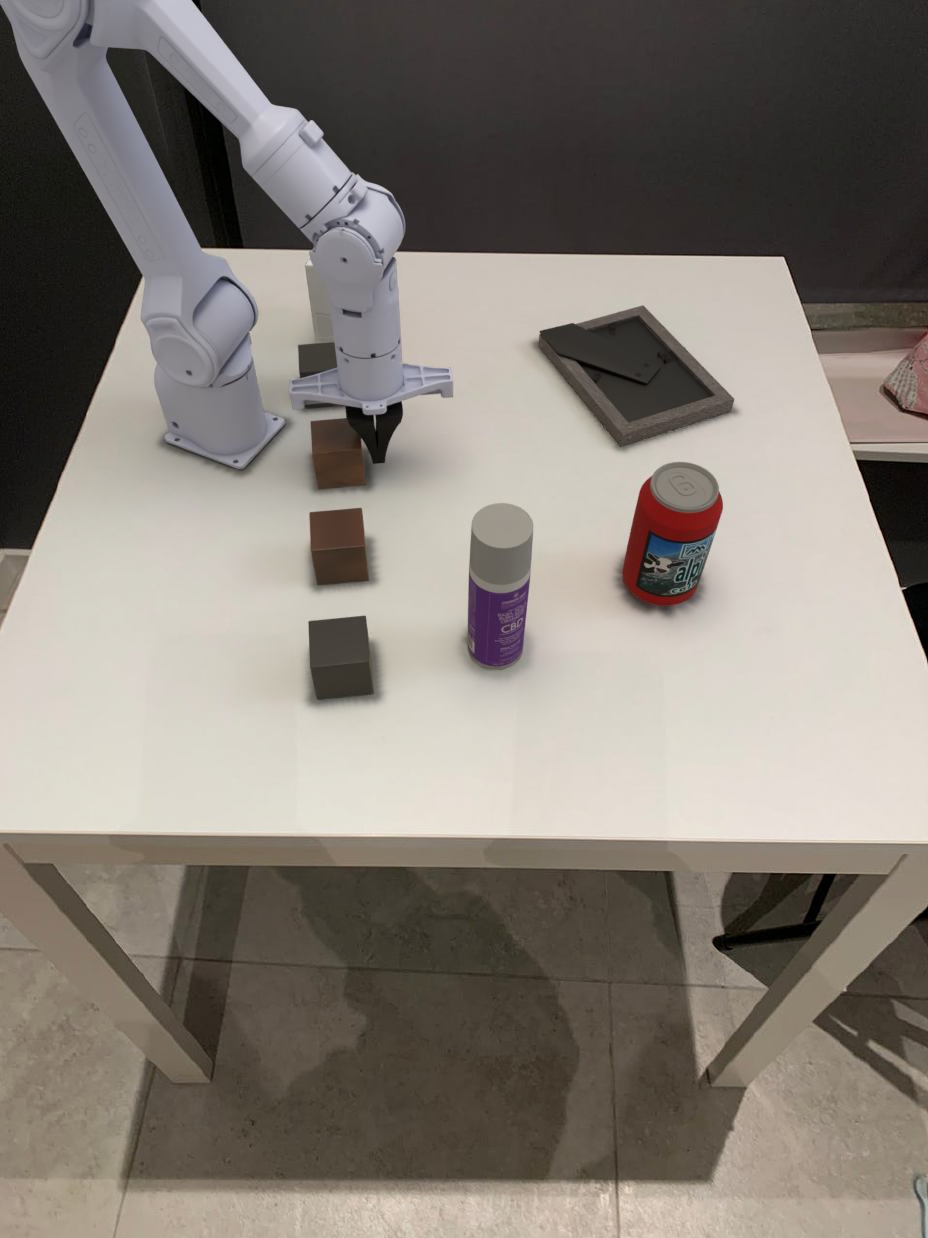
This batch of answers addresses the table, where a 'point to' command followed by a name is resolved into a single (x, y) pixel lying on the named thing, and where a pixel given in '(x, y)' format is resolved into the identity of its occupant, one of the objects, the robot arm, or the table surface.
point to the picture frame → (634, 374)
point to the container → (498, 584)
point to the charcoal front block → (340, 657)
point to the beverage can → (672, 533)
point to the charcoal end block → (316, 362)
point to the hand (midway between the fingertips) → (378, 456)
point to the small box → (319, 305)
